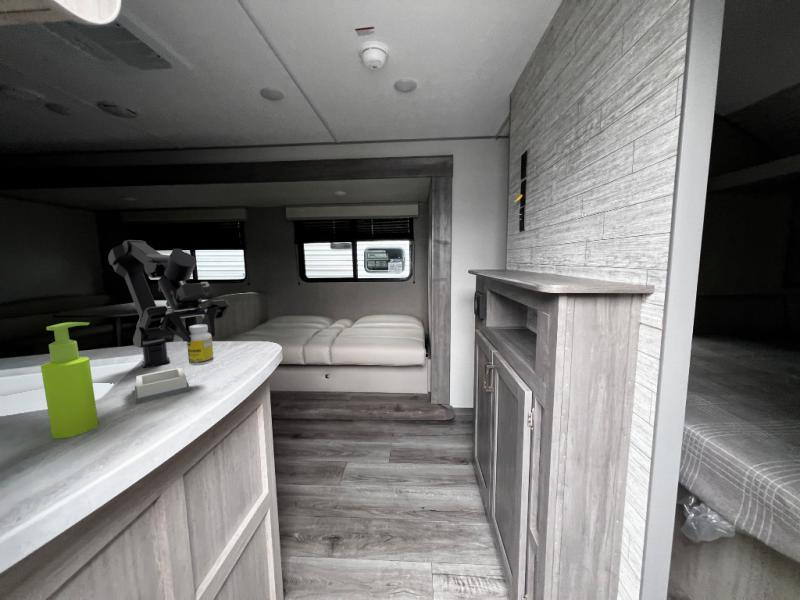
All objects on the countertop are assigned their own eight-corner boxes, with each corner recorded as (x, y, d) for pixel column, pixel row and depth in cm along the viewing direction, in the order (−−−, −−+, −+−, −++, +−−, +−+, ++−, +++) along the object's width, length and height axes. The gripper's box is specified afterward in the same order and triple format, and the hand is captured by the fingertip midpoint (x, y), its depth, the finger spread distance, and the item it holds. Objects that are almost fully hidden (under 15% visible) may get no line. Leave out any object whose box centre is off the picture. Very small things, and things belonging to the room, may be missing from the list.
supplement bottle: (183, 365, 77) (180, 327, 75) (202, 358, 82) (199, 323, 81) (200, 367, 75) (197, 328, 74) (218, 360, 80) (215, 324, 79)
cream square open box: (135, 389, 74) (133, 375, 74) (185, 379, 81) (183, 366, 80) (135, 403, 67) (133, 388, 66) (190, 390, 73) (188, 376, 73)
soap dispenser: (112, 419, 60) (99, 320, 57) (71, 439, 53) (54, 328, 51) (86, 418, 61) (71, 319, 58) (42, 437, 54) (23, 327, 51)
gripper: (140, 273, 70) (167, 325, 65) (222, 271, 85) (248, 313, 81) (131, 304, 75) (155, 355, 70) (210, 297, 91) (234, 337, 86)
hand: (202, 338), depth 77 cm, fingers closed on supplement bottle, 5 cm apart
